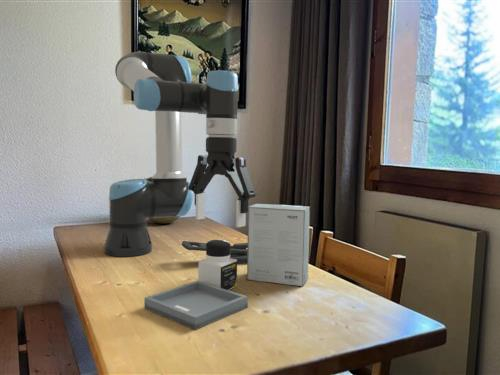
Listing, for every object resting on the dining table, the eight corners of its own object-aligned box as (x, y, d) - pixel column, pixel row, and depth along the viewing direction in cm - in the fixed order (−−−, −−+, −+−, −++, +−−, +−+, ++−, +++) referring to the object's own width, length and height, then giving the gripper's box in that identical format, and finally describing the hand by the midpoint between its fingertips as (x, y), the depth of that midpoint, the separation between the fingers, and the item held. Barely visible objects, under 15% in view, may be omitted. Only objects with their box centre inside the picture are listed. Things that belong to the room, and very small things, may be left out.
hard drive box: (308, 278, 120) (311, 206, 118) (302, 287, 113) (305, 210, 111) (254, 272, 125) (256, 202, 123) (245, 279, 118) (247, 206, 116)
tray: (144, 308, 96) (144, 297, 96) (197, 290, 109) (197, 280, 109) (195, 329, 86) (195, 317, 86) (247, 307, 99) (247, 296, 98)
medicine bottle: (220, 294, 106) (221, 245, 105) (197, 288, 110) (198, 241, 109) (237, 286, 113) (238, 240, 111) (214, 281, 116) (215, 236, 115)
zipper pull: (179, 240, 134) (256, 235, 143) (179, 261, 135) (255, 255, 143) (186, 247, 126) (267, 241, 134) (185, 269, 126) (266, 263, 135)
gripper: (175, 135, 112) (174, 217, 115) (251, 137, 97) (249, 232, 99) (196, 136, 118) (195, 214, 120) (271, 137, 103) (269, 227, 105)
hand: (219, 222), depth 110 cm, fingers open, 13 cm apart
